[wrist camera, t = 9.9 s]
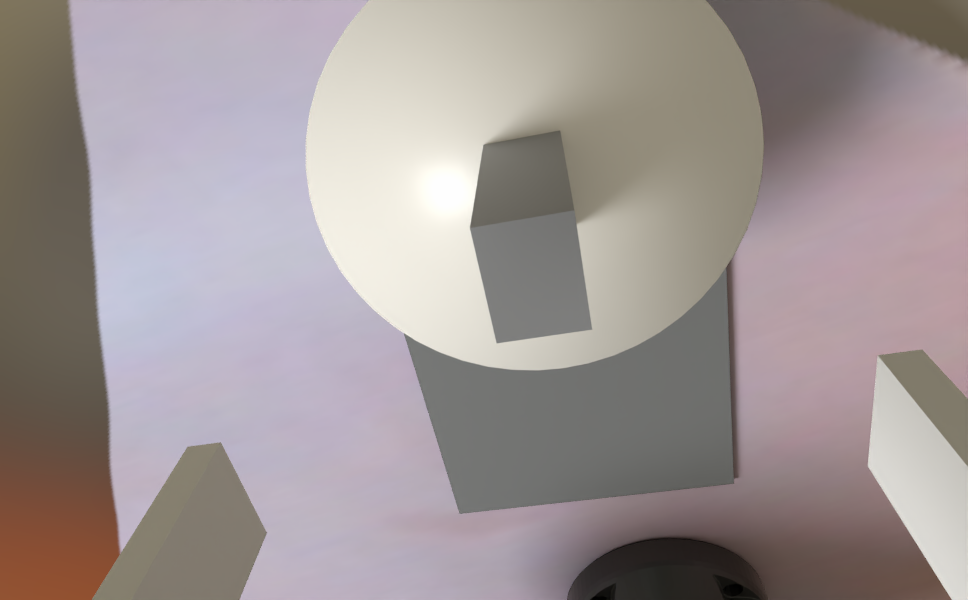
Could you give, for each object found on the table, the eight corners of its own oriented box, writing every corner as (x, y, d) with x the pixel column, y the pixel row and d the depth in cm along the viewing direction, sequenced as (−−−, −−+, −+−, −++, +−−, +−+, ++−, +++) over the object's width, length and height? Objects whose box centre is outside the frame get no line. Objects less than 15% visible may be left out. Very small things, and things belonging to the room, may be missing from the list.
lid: (748, 311, 32) (837, 468, 23) (385, 363, 35) (337, 523, 26) (740, -126, 24) (877, -148, 15) (259, -14, 26) (121, 25, 17)
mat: (732, 479, 46) (733, 483, 46) (460, 509, 49) (459, 513, 49) (723, 225, 37) (725, 228, 37) (389, 279, 40) (388, 283, 39)
